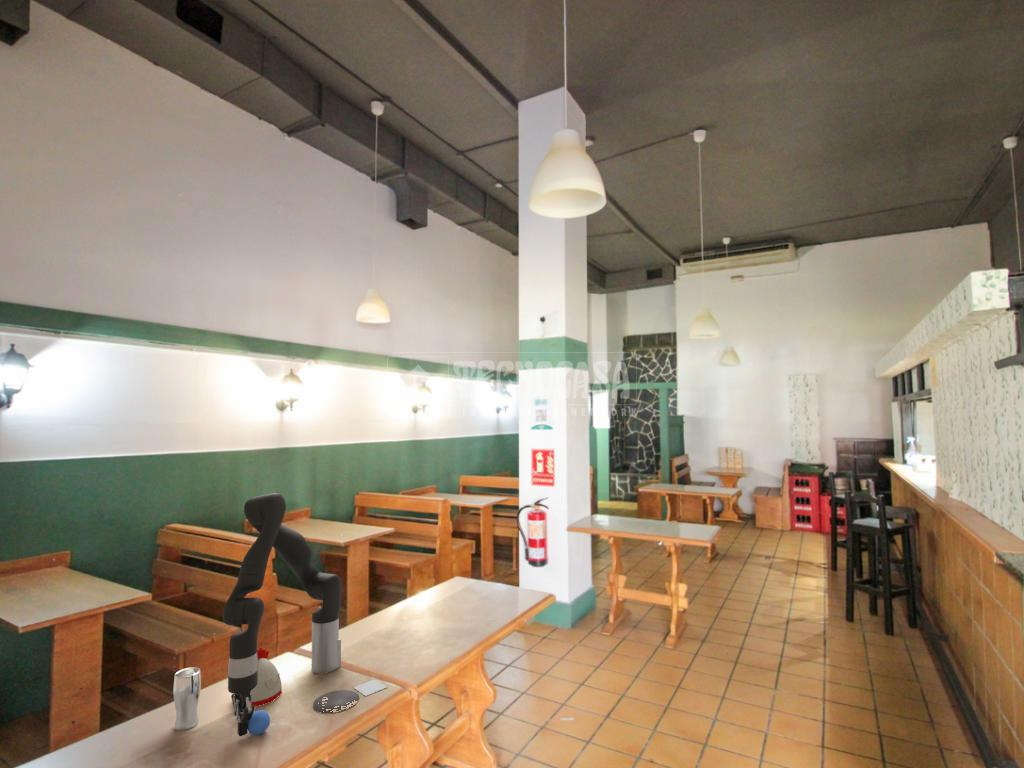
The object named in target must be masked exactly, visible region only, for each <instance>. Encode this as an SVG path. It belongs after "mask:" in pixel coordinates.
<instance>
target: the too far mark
mask: <svg viewBox="0 0 1024 768" xmlns="http://www.w3.org/2000/svg"><path fill="white" fill-rule="evenodd" d="M353 689H354V690H355V689H356V690H355V691H356V692H358V691H359V692H358V693H360V694H361V693H362V694H361V695H363V696H364V695H365V696H366V697H368V696H371V695H373V694H375V692H376V693H377V692H380V691H382V690H386V689H388V686H386V684H384V683H382V682H380V681H379V680H378V679H372V680H369V681H367V682H364V683H360V684H359V685H357V686H356V685H355V686H354V687H353ZM370 694H371V695H370ZM365 696H364V697H365Z"/></svg>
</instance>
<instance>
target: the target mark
mask: <svg viewBox="0 0 1024 768" xmlns="http://www.w3.org/2000/svg"><path fill="white" fill-rule="evenodd" d="M323 697H327V698H328V700H325V701H322V699H326V698H323ZM354 700H355V701H358V700H359V701H360V695H359V693H358V692H357V691H353V690H351V689H350V690H349V689H338V690H333V691H329V692H326V693H324V694H322V695H320V696H319V697H317V698H316V699H315V700H314V702H313V703H312V708H314V709H313V710H314V711H315V710H316V712H317V711H318V712H317V713H319V712H321V713H320V714H325V713H331V714H334V713H333V711H332V710H333V709H338V710H336V711H339V710H341V706H346V707H347V705H349V704H350V703H352V701H353V702H354ZM359 701H358V702H359ZM322 702H327V703H324V704H322ZM348 702H350V703H348ZM318 703H319V704H318ZM346 703H348V704H346ZM322 705H325V706H322ZM351 705H353V704H351ZM335 706H339V707H337V708H334V707H335ZM346 707H343V708H346ZM322 708H324V709H322ZM349 708H350V707H349ZM351 708H353V707H352V706H351ZM351 708H350V709H351ZM326 709H331V710H328V711H326ZM344 710H345V711H347V710H346V709H344ZM323 711H324V712H323ZM330 711H332V712H330ZM341 711H342V712H344V711H343V710H341ZM338 713H341V712H340V711H339V712H338Z"/></svg>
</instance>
